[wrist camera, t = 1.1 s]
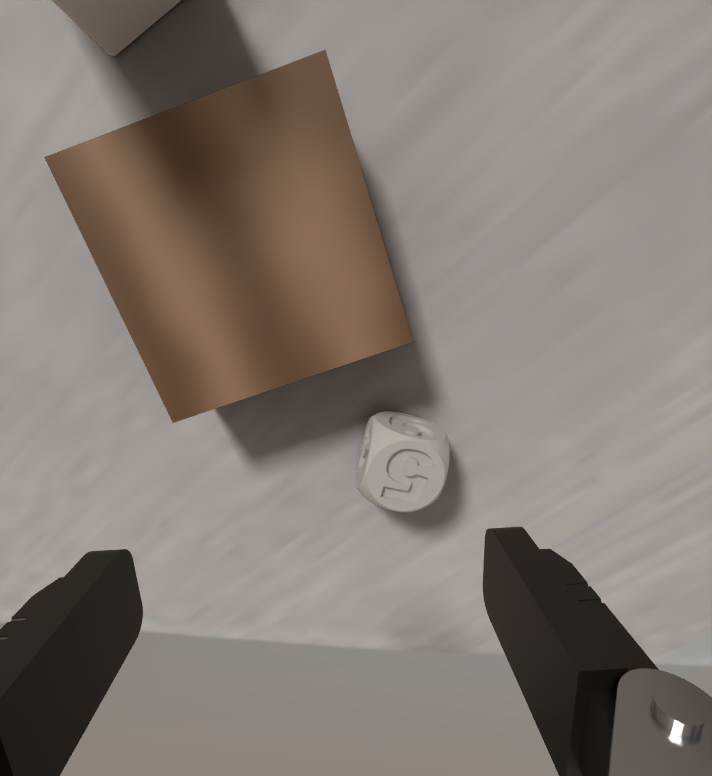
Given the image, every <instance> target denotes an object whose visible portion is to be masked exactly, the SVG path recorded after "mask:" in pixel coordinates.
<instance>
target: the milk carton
mask: <svg viewBox="0 0 712 776" xmlns="http://www.w3.org/2000/svg"><path fill="white" fill-rule="evenodd" d="M52 1H53V2H54V3H55V4H56V5H57V6H58V7H59V8H60V9H61V10H63V11H64V12H65V13H66V14H67V15H68V16H69V17H70V18H71V19H72V20H73V21H74V22H75V23H76V24H77V25H78V26H79V27H80V28H82V29H83V30H84V31H85V32H86V33H87V34H88V35H89V36H90V37H91V38H92V39H93V40H94V41H95V42H96V43H97V44H98V45H99V46H100V47H102V48H103V49H104V50H105V51H106V52H107V53H108V54H109V55H110V56H115V55H116V54H118V53H119V52H120V51H122V50H123V49H124V48H125V47H126V46H128V45H129V44H130V43H131V42H132V41H134V40H135V39H136V38H137V37H138V36H140V35H141V34H142V33H143V32H144V31H145V30H147V29H148V28H149V27H150V26H151V25H153V24H154V23H155V22H156V21H157V20H159V19H160V18H161V17H162V16H163V15H164V14H166V13H167V12H168V11H169V10H170V9H172V8H173V7H174V6H175V5H176V4H178V3H179V2H180V1H181V0H52Z"/></svg>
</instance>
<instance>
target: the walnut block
mask: <svg viewBox="0 0 712 776" xmlns="http://www.w3.org/2000/svg"><path fill="white" fill-rule="evenodd" d="M45 159H46V161H47V164H48V166H49V168H50V170H51V172H52V174H53V176H54V178H55V180H56V182H57V184H58V186H59V188H60V190H61V192H62V195H63V197H64V199H65V201H66V203H67V205H68V207H69V209H70V211H71V213H72V215H73V217H74V219H75V221H76V223H77V226H78V228H79V230H80V232H81V234H82V236H83V238H84V240H85V242H86V244H87V246H88V248H89V250H90V252H91V254H92V257H93V259H94V261H95V263H96V265H97V267H98V269H99V271H100V273H101V275H102V277H103V279H104V281H105V283H106V285H107V288H108V290H109V292H110V294H111V296H112V298H113V300H114V302H115V304H116V306H117V308H118V310H119V312H120V314H121V316H122V319H123V321H124V323H125V325H126V327H127V329H128V331H129V333H130V335H131V337H132V339H133V341H134V343H135V345H136V347H137V349H138V352H139V354H140V356H141V358H142V360H143V362H144V364H145V366H146V368H147V370H148V372H149V374H150V376H151V378H152V380H153V383H154V385H155V387H156V389H157V391H158V393H159V395H160V397H161V399H162V401H163V403H164V405H165V407H166V409H167V411H168V414H169V416H170V418H171V420H172V422H173V423H174V422H177V421H180V420H183V419H186V418H189V417H192V416H195V415H198V414H201V413H204V412H207V411H209V410H212V409H215V408H218V407H221V406H224V405H227V404H230V403H233V402H236V401H239V400H242V399H245V398H248V397H251V396H254V395H257V394H260V393H263V392H266V391H269V390H272V389H275V388H278V387H281V386H284V385H287V384H290V383H293V382H295V381H298V380H301V379H304V378H307V377H310V376H313V375H316V374H319V373H322V372H325V371H328V370H331V369H334V368H337V367H340V366H343V365H346V364H349V363H352V362H355V361H358V360H361V359H364V358H367V357H370V356H373V355H376V354H379V353H382V352H384V351H387V350H390V349H393V348H396V347H399V346H402V345H405V344H408V343H411V342H413V339H412V335H411V332H410V329H409V325H408V322H407V319H406V316H405V312H404V309H403V306H402V302H401V299H400V296H399V292H398V289H397V286H396V282H395V279H394V276H393V272H392V269H391V266H390V263H389V259H388V256H387V253H386V249H385V246H384V243H383V239H382V236H381V233H380V229H379V226H378V223H377V219H376V216H375V213H374V209H373V206H372V203H371V200H370V196H369V193H368V190H367V186H366V183H365V180H364V176H363V173H362V170H361V166H360V163H359V160H358V156H357V153H356V150H355V147H354V143H353V140H352V137H351V133H350V130H349V127H348V123H347V120H346V117H345V113H344V110H343V107H342V103H341V100H340V97H339V93H338V90H337V87H336V84H335V80H334V77H333V74H332V70H331V67H330V64H329V60H328V57H327V54H326V50H324V51H321V52H318V53H316V54H313V55H310V56H308V57H305V58H303V59H300V60H297V61H295V62H292V63H290V64H287V65H284V66H282V67H279V68H277V69H274V70H271V71H269V72H266V73H263V74H261V75H258V76H256V77H253V78H250V79H248V80H245V81H243V82H240V83H237V84H235V85H232V86H229V87H227V88H224V89H222V90H219V91H216V92H214V93H211V94H209V95H206V96H203V97H201V98H198V99H196V100H193V101H190V102H188V103H185V104H182V105H180V106H177V107H175V108H172V109H169V110H167V111H164V112H162V113H159V114H156V115H154V116H151V117H149V118H146V119H143V120H141V121H138V122H135V123H133V124H130V125H128V126H125V127H122V128H120V129H117V130H115V131H112V132H109V133H107V134H104V135H101V136H99V137H96V138H94V139H91V140H88V141H86V142H83V143H81V144H78V145H75V146H73V147H70V148H68V149H65V150H62V151H60V152H57V153H54V154H52V155H49V156H47V157H45Z"/></svg>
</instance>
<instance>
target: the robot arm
mask: <svg viewBox="0 0 712 776" xmlns="http://www.w3.org/2000/svg"><path fill="white" fill-rule="evenodd" d="M483 595H484V602H485V606H486V610H487V613H488V616H489V619H490V621H491V623H492V625H493V628H494V630H495V632H496V634H497V637H498V639H499V641H500V643H501V646H502V648H503V650H504V652H505V655H506V657H507V659H508V661H509V663H510V666H511V668H512V670H513V672H514V675H515V677H516V679H517V682H518V684H519V686H520V688H521V691H522V693H523V695H524V697H525V700H526V702H527V704H528V706H529V709H530V711H531V713H532V715H533V718H534V720H535V722H536V724H537V727H538V729H539V731H540V733H541V736H542V738H543V740H544V743H545V745H546V747H547V749H548V751H549V754H550V756H551V758H552V761H553V763H554V765H555V767H556V770H557V772H558V774H559V776H712V697H710V696H709V695H708V694H707V693H705V692H704V691H703V690H701V689H700V688H698V687H697V686H695V685H694V684H692V683H690V682H688V681H687V680H685V679H683V678H680V677H678V676H676V675H673V674H670V673H668V672H665V671H661V670H658V668H657V667H656V666H655V664H654V663H653V662H652V661H651V660H650V658H649V657H648V656H647V655H646V654H645V652H644V651H643V650H642V649H641V647H640V646H639V645H638V644H637V643H636V641H635V640H634V639H633V638H632V636H631V635H630V634H629V633H628V632H627V630H626V629H625V628H624V627H623V625H622V624H621V623H620V622H619V621H618V619H617V618H616V617H615V616H614V614H613V613H612V612H611V611H610V610H609V608H608V607H607V606H606V605H605V603H602V602H601V599H600V597H599V596H598V595H597V594H596V593H595V591H594V590H593V589H592V588H591V586H590V587H588V584H587V582H586V580H585V579H584V578H583V577H582V575H581V574H580V573H579V572H578V571H577V569H576V568H575V567H574V566H573V564H571V563H570V562H569V561H567V560H566V559H564V558H563V557H561V556H560V555H558V554H557V553H555V552H554V551H552V550H551V549H539V548H538V547H537V545H536V544H535V543H534V541H533V540H532V539H531V537H530V536H529V535H528V533H527V532H526V531H525V529H524V528H522V527H509V528H492V529H487V531H486V534H485V548H484V571H483ZM142 618H143V607H142V601H141V596H140V592H139V587H138V582H137V577H136V572H135V567H134V562H133V558H132V555H131V553H130V552H129V551H128V550H126V549H122V550H105V551H91V552H88V553H86V554H85V555H84V556H83V557H82V558H81V559H80V560H79V561H78V563H77V564H76V565H75V566H74V567H73V568H72V569H71V570H70V571H69V572H68V573H67V574H66V576H65V577H62V578H58V579H57V580H56V581H54V582H53V583H51V584H50V585H48V586H47V587H45V588H44V589H42V590H41V591H39V592H38V593H36V594H35V595H34V596H32V597H31V598H30V599H29V600H28V601H27V602H26V603H25V604H24V605H23V607H22V608H21V609H20V610H19V611H18V612H17V613H16V614H15V615H14V616H13V617H12V620H11V622H7V623H6V624H5V625H4V626H3V627H2V628H1V629H0V776H60V774H61V772H62V771H63V769H64V767H65V765H66V764H67V762H68V760H69V758H70V756H71V755H72V753H73V751H74V749H75V748H76V746H77V744H78V742H79V741H80V739H81V737H82V735H83V733H84V732H85V730H86V728H87V726H88V724H89V723H90V721H91V719H92V717H93V716H94V714H95V712H96V710H97V709H98V707H99V705H100V703H101V701H102V700H103V698H104V696H105V694H106V693H107V691H108V689H109V687H110V685H111V683H112V682H113V680H114V678H115V676H116V675H117V673H118V671H119V669H120V668H121V666H122V664H123V662H124V660H125V659H126V657H127V655H128V653H129V651H130V650H131V648H132V646H133V645H134V643H135V641H136V639H137V637H138V634H139V632H140V628H141V624H142Z"/></svg>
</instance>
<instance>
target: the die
mask: <svg viewBox="0 0 712 776" xmlns="http://www.w3.org/2000/svg"><path fill="white" fill-rule="evenodd" d="M449 459H450V447H449V440H448V437H447V435H446V433H445V432H444V430H443V429H442V428H440V427H439V426H437V425H436V424H434V423H432V422H430V421H428V420H425V419H423V418H420V417H417V416H414V415H410V414H406V413H401V412H394V411H383V412H379V413H377V414H375V415H373V416H372V417H370V418H369V420H368V422H367V425H366V427H365V431H364V434H363V438H362V442H361V447H360V451H359V457H358V463H357V471H356V487H357V489H358V490H359V492H360V493H361V494H362V495H363V496H364V497H365V498H366V499H367V500H369V501H370V502H372V503H373V504H375V505H377V506H380V507H382V508H385V509H388V510H391V511H396V512H404V513H409V512H416V511H419V510H422V509H424V508H426V507H428V506H430V505H431V504H432V503H434V502H435V501H436V500H437V499H438V498H439V496H440V495H441V493H442V490H443V488H444V485H445V482H446V478H447V473H448V468H449Z"/></svg>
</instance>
